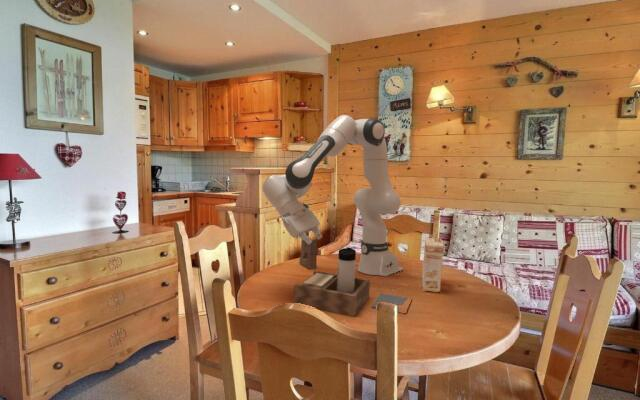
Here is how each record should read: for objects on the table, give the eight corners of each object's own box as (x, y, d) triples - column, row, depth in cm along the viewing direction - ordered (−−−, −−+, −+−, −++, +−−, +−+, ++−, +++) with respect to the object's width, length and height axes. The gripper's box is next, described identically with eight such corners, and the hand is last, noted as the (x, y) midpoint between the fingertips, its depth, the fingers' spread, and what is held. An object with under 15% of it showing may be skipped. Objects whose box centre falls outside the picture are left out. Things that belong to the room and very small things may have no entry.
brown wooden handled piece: (309, 269, 169) (311, 232, 167) (299, 263, 178) (300, 227, 176) (316, 268, 171) (317, 231, 169) (305, 262, 180) (306, 227, 178)
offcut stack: (302, 302, 130) (302, 282, 129) (315, 291, 142) (316, 272, 141) (321, 306, 127) (322, 286, 127) (333, 294, 139) (334, 275, 139)
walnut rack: (293, 304, 128) (294, 285, 127) (314, 287, 146) (314, 270, 145) (354, 316, 120) (355, 296, 119) (368, 297, 137) (369, 279, 136)
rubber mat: (380, 294, 140) (380, 293, 140) (411, 300, 136) (412, 298, 136) (371, 307, 127) (371, 306, 127) (406, 314, 123) (406, 312, 123)
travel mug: (355, 301, 133) (358, 248, 131) (351, 307, 127) (353, 252, 124) (339, 298, 135) (341, 246, 133) (334, 304, 129) (336, 250, 127)
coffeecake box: (440, 293, 144) (444, 246, 141) (422, 291, 145) (425, 244, 143) (438, 281, 158) (442, 238, 156) (421, 279, 160) (424, 237, 158)
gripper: (285, 209, 125) (310, 240, 122) (309, 204, 144) (331, 230, 141) (273, 221, 127) (297, 251, 124) (298, 214, 146) (320, 240, 143)
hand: (315, 240), depth 133 cm, fingers open, 8 cm apart
